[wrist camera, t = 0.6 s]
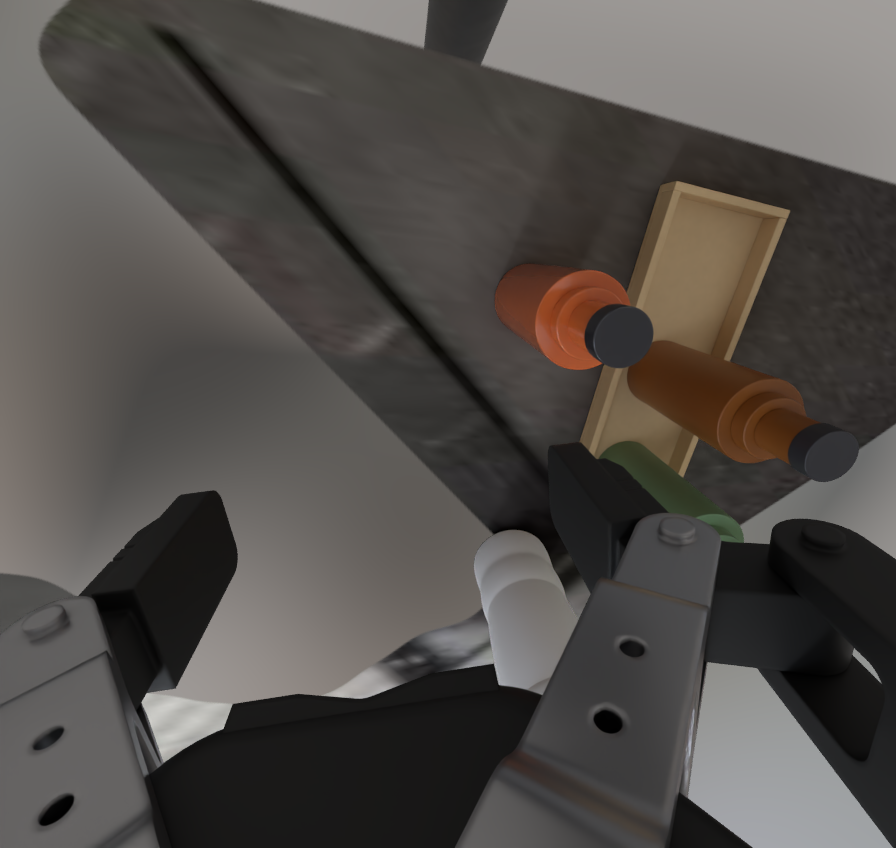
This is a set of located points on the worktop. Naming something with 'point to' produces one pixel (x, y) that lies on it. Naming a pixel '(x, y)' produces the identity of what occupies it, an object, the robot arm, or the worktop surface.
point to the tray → (686, 303)
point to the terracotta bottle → (573, 316)
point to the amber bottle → (739, 411)
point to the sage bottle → (672, 488)
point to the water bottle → (523, 608)
